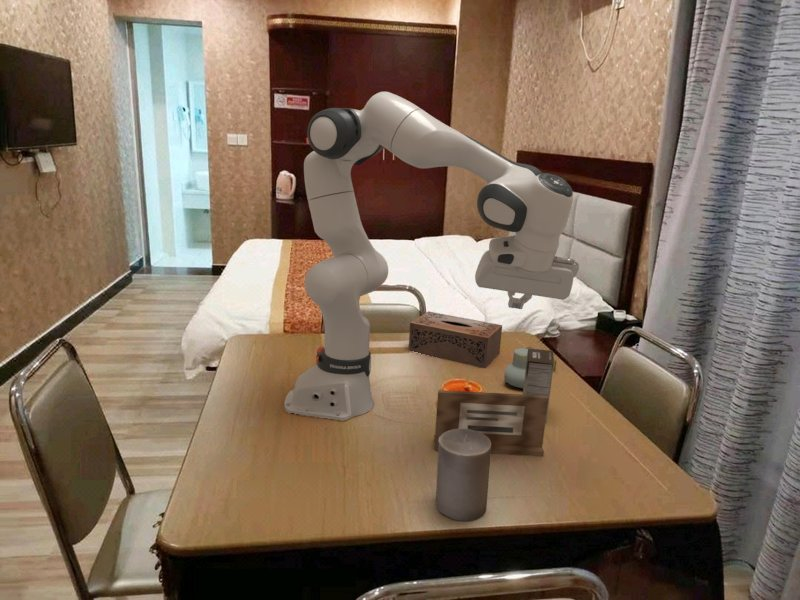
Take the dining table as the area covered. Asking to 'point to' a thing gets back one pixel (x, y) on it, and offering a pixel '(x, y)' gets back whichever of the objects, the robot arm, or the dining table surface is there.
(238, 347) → the dining table surface
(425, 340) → the tissue box cover
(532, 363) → the coffee box
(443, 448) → the pillar candle
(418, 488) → the dining table surface
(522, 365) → the air freshener
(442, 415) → the label placard
